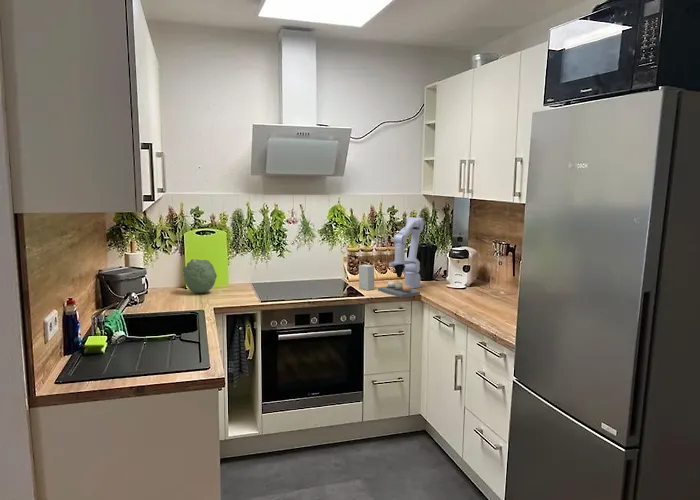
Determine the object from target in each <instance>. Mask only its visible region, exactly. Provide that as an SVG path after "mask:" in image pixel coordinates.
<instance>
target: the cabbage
mask: <svg viewBox="0 0 700 500" xmlns="http://www.w3.org/2000/svg"><path fill="white" fill-rule="evenodd" d="M182 269H183V270H182V271H183V273H184V274H183V275H182V276H183V277H184V283H185V285H186V287H187V288H188V289H189V291H191V292H192V293H196V294H206V293H207V292H209V291H210V290H212V288H213V287H214V286H215V283H216V280H217V278H218V277H217V272H216V269H215V267H214V265H213V264H212V263H211V261H209V260H207V259H204V260H202V259H190V261H189V262H187V263H186V266H184V267H182Z"/></svg>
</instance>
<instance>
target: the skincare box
mask: <svg viewBox="0 0 700 500" xmlns="http://www.w3.org/2000/svg"><path fill="white" fill-rule="evenodd" d="M358 289H360V290H366V291H371V290H375V265H371V264H365V263H364V264H360V265H358Z"/></svg>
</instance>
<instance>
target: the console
mask: <svg viewBox="0 0 700 500" xmlns="http://www.w3.org/2000/svg"><path fill="white" fill-rule="evenodd" d="M377 291H378V292H380V291H381V293H384V294H387V293H388V294H387V295H390V294H391V296H394V297H398V298H401V299H403V298H404V299H405V298H410V297H416V296H421V291H420V290H419V291H418V290H415V289H413V288H412V289H410V291H409V292H405V291H403V289H395V287H388V285H386V286H380V287H379V286H378V288H377Z"/></svg>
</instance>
